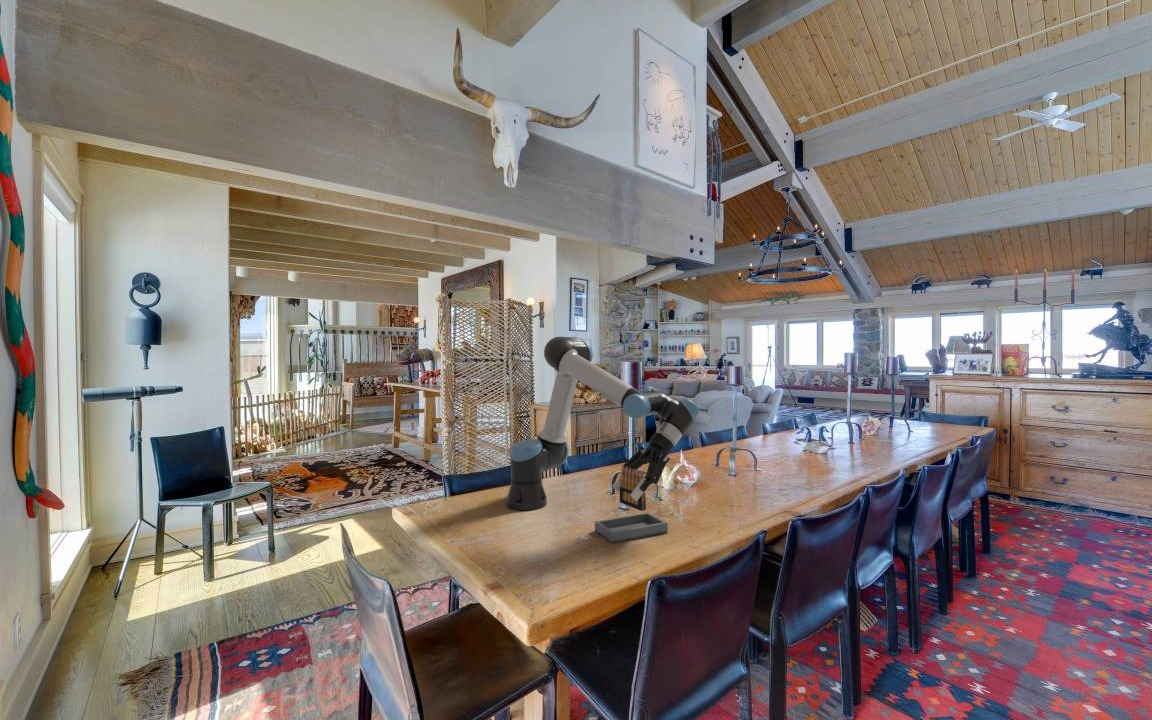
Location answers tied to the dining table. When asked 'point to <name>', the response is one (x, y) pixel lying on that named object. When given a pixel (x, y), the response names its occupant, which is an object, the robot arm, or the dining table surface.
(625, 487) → the ammunition clip
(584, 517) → the dining table surface
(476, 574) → the dining table surface
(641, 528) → the tray
